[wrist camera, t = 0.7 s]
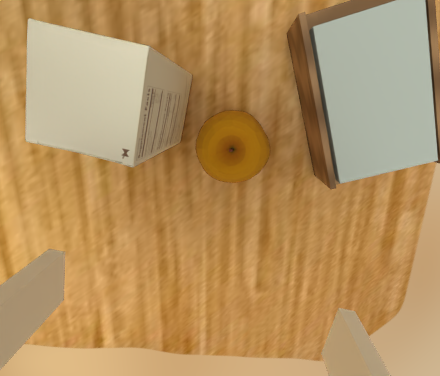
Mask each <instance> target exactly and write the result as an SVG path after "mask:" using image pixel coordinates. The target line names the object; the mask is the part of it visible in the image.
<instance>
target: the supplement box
mask: <svg viewBox="0 0 440 376" xmlns="http://www.w3.org/2000/svg"><path fill="white" fill-rule="evenodd" d="M191 82H192V74H191V73H189V72H188V71H186V70H184V69H183V68H181V67H180V66H178V65H177V64H175V63H174V62H172V61H171V60H169V59H168V58H166V57H165V56H163V55H162V54H160V53H159V52H158V51H156V50H155V49H153V48H152V47H150V46H147V45H143V44H138V43H134V42H129V41H125V40H121V39H116V38H112V37H108V36H103V35H99V34H94V33H90V32H85V31H81V30H77V29H72V28H68V27H64V26H59V25H55V24H51V23H46V22H42V21H38V20H34V19H31V18H29V19H28V28H27V80H26V135H25V140H26V142H29V143H35V144H40V145H45V146H49V147H54V148H58V149H63V150H68V151H72V152H76V153H81V154H85V155H89V156H93V157H97V158H101V159H104V160H108V161H112V162H116V163H119V164H123V165H126V166H129V167H135V166H137V165H139V164H140V163H142V162H144V161H146V160H148V159H150V158H152V157H154V156H156V155H157V154H159V153H161V152H163V151H165V150H167V149H169V148H171V147H173V146H175V145H177V144H179V143H180V141H181V136H182V131H183V126H184V121H185V115H186V110H187V104H188V99H189V93H190V87H191Z"/></svg>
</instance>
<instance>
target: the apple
mask: <svg viewBox="0 0 440 376" xmlns="http://www.w3.org/2000/svg"><path fill="white" fill-rule="evenodd" d="M196 153H197V157H198V159H199V161H200V163H201V165H202V167H203V169H204V170H205V171H206V173H207V174H209V175H210V176H211V177H213V178H215V179H217V180H219V181H223V182H230V183H236V182H242V181H246V180H249V179H251V178H252V177H253V176H255V175H256V174H258V173H259V172H260V171H261V169H262V168H263V167H264V165H265V164H266V163H267V160H268V158H269V156H270V145H269V141H268V137H267V136H266V134H265V132H264V130H263V129H262V127H261V125H260V124H259V123H258V122H257V120H256V119H255V118H254V117H253V116H251V115H249V114H248V113H246V112H242V111H234V110H229V111H223V112H220V113H218V114H216V115H215V116H213V117H211V118H210V119H208V120H207V121H206V122H205V123H204V124H203V126H202V128H201V130H200V132H199V134H198V137H197V140H196Z"/></svg>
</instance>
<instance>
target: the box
mask: <svg viewBox="0 0 440 376" xmlns="http://www.w3.org/2000/svg"><path fill="white" fill-rule="evenodd" d="M392 1H395V0H350V1H347V2H344V3H341V4H338V5H335V6H332V7H329V8H326V9H323V10H319V11H316V12H313V13H310V14H307V15H306V14H305V12H304V13H301V14H299V15H298V16H297V18H296V19H295V21H294V23H293V24H292V26H291V28H290V29H289V31H288V32H287V37H288V42H289V48H290V53H291V58H292V63H293V68H294V73H295V78H296V83H297V88H298V94H299V99H300V104H301V109H302V114H303V119H304V124H305V129H306V134H307V140H308V145H309V150H310V155H311V160H312V165H313V170H314V175H315V176H316V177H318V178H319V179H320V180H321V181H322V182H323V183H324V184H325V185H327V186H328V187H329V188H330V189H334V188H336V184H340V183H339V182H337V181H336V179H335V173H334V168H333V162H332V156H331V151H330V145H329V139H328V134H327V128H326V122H325V117H324V111H323V105H322V100H321V94H320V88H319V83H318V77H317V71H316V66H315V60H314V54H313V49H312V43H311V37H310V32H309V31H310V30H311V28H312V27H314V26H317V25H320V24H323V23H326V22H329V21H332V20H336V19H339V18H342V17H345V16H348V15H351V14H354V13H358V12H361V11H364V10H367V9H370V8H373V7H376V6H380V5H383V4H386V3H389V2H392ZM425 3H426V15H427V28H428V41H429V53H430V66H431V79H432V91H433V104H434V117H435V129H436V142H437V155H438V161H434V162H437V163H440V63H439V49H438V35H437V21H436V7H435V0H425Z"/></svg>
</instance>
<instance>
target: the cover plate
mask: <svg viewBox="0 0 440 376" xmlns="http://www.w3.org/2000/svg"><path fill="white" fill-rule="evenodd" d="M309 32H310V37H311V43H312V49H313V54H314V60H315V66H316V71H317V77H318V83H319V88H320V94H321V100H322V105H323V111H324V117H325V122H326V128H327V134H328V139H329V145H330V151H331V156H332V162H333V168H334V173H335V179H336V181H337V182H339V183H340V184H341V183H345V182H349V181H354V180H358V179H362V178H366V177H370V176H375V175H379V174H383V173H387V172H392V171H396V170H400V169H404V168H408V167H413V166H417V165H421V164H425V163H430V162H434V161H438V155H437V142H436V129H435V117H434V104H433V91H432V79H431V66H430V53H429V41H428V28H427V15H426V3H425V0H395V1H392V2H389V3H386V4H383V5H380V6H376V7H373V8H370V9H367V10H364V11H361V12H358V13H354V14H351V15H348V16H345V17H342V18H339V19H336V20H332V21H329V22H326V23H323V24H320V25H317V26H314V27H312V28H311V30H310V31H309Z"/></svg>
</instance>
